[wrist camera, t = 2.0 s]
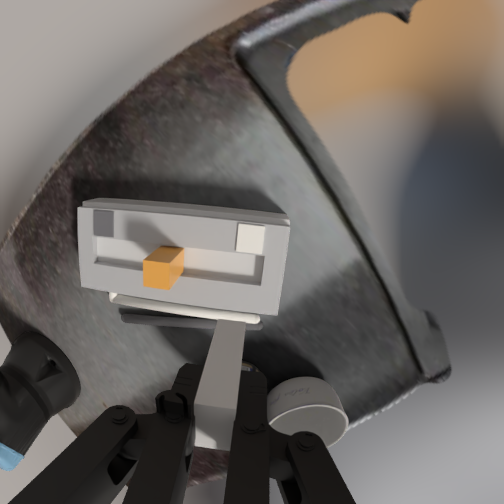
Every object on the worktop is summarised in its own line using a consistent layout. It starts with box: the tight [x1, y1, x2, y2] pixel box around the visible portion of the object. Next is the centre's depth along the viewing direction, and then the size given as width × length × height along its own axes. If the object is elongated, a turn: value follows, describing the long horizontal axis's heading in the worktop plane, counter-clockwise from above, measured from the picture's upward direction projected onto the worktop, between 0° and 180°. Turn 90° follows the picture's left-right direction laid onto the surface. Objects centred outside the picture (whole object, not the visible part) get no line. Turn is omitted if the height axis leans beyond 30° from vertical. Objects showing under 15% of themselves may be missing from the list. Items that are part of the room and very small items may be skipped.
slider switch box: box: [78, 198, 290, 315], centre depth 30 cm, size 22×10×5 cm, turn 84°
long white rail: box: [109, 292, 260, 324], centre depth 34 cm, size 19×4×1 cm, turn 84°
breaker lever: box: [143, 245, 184, 290], centre depth 26 cm, size 2×2×5 cm
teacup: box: [267, 377, 348, 448], centre depth 35 cm, size 14×11×8 cm
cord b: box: [121, 313, 263, 330], centre depth 35 cm, size 18×1×1 cm, turn 90°
